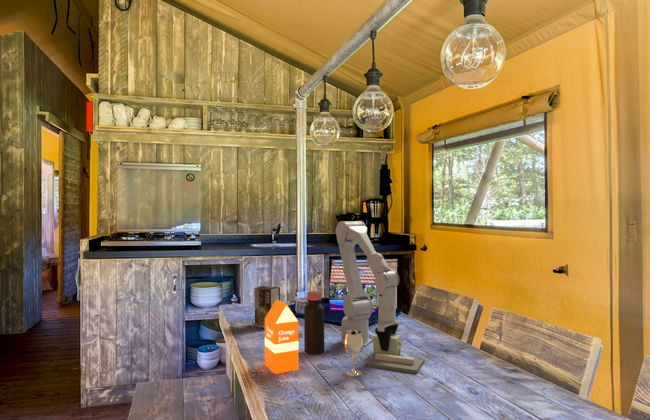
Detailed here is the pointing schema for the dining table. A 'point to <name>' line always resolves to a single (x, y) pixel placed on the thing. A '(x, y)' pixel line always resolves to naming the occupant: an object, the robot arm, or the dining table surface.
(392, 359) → the cleat board
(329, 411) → the dining table surface
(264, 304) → the coffee box
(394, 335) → the cabinet block
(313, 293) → the bottle
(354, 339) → the wineglass
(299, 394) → the dining table surface
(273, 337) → the orange juice
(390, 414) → the dining table surface
